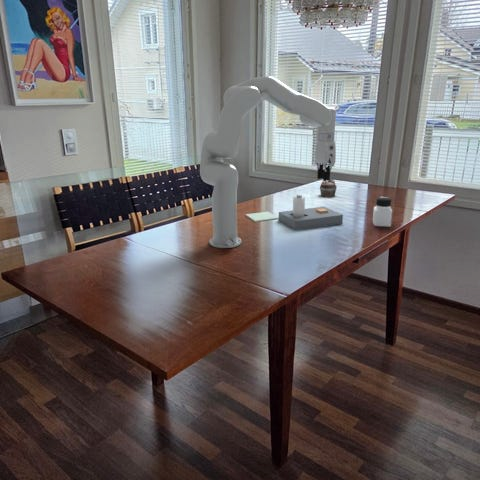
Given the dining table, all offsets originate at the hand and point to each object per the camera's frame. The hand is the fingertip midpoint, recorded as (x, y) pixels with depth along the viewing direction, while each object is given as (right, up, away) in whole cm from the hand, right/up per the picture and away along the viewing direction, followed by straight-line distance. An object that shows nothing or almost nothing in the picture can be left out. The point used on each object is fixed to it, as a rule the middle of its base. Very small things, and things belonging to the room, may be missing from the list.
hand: (323, 178), depth 182 cm
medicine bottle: (+26, -21, -1) cm, 33 cm away
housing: (-5, -19, +4) cm, 20 cm away
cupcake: (+13, -2, +54) cm, 55 cm away
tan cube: (0, -18, +6) cm, 19 cm away
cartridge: (-11, -20, +2) cm, 23 cm away
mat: (-27, -16, +13) cm, 34 cm away
